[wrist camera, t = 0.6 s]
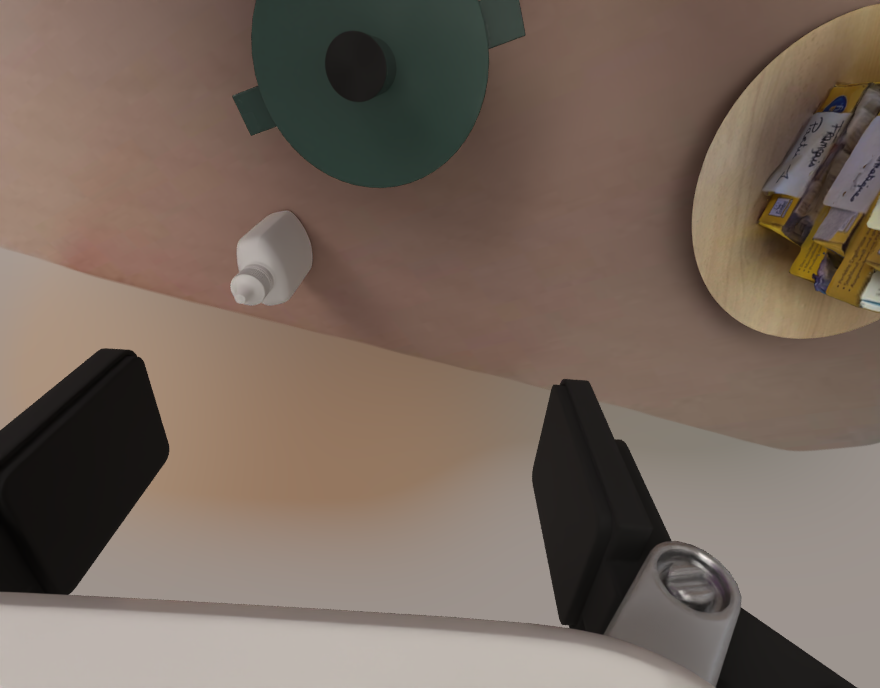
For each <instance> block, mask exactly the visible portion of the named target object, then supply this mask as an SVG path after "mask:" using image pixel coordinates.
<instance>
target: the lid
mask: <svg viewBox="0 0 880 688" xmlns="http://www.w3.org/2000/svg"><path fill="white" fill-rule="evenodd" d="M251 40H252V57H253V64H254V70H255V75H256V79H257V82H258V86H259V90H260V92H261V95H262V98H263V100H264V103H265V105H266V107H267V109H268V111H269V113H270V115H271V117H272V119H273V121H274V123H275V124H276V126H277V127H278V129H279V130H280V132H281V133H282V135H283V136H284V137H285V139H286V140H287V141H288V142H289V143H290V145H291V146H292V147H293V148H294V149H295V150H296V151H297V152H298V153H299V154H300V155H301V156H302V157H303V158H304V159H306V160H307V161H308V162H309V163H311V164H312V165H313V166H315V167H316V168H317V169H319V170H321V171H323V172H324V173H326V174H328V175H329V176H332V177H334V178H336V179H338V180H341V181H343V182H346V183H350V184H353V185H357V186H363V187H370V188H387V187H396V186H400V185H404V184H408V183H411V182H414V181H416V180H419V179H421V178H423V177H425V176H427V175H429V174H430V173H432V172H434V171H435V170H437V169H438V168H439V167H441V166H442V165H443V164H445V163H446V162H447V161H448V160H449V159H450V158H451V157H452V156H453V155H454V154H455V153H456V152H457V150H458V149H459V148H460V147H461V145H462V144H463V143H464V141H465V140H466V138H467V137H468V135H469V133H470V132H471V130H472V128H473V126H474V124H475V122H476V120H477V117H478V115H479V113H480V110H481V107H482V103H483V100H484V97H485V92H486V86H487V81H488V68H489V51H488V39H487V33H486V26H485V22H484V18H483V15H482V11H481V8H480V5H479V2H478V0H256V3H255V8H254V14H253V20H252V34H251Z"/></svg>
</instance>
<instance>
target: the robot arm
mask: <svg viewBox="0 0 880 688" xmlns="http://www.w3.org/2000/svg"><path fill="white" fill-rule="evenodd" d="M168 455H169V444H168V440H167V437H166V434H165V430H164V427H163V424H162V421H161V417H160V414H159V410H158V407H157V404H156V400H155V397H154V394H153V390H152V387H151V384H150V381H149V378H148V374H147V371H146V367H145V364H144V361H143V360H142V359H141V358H140V357H137V355H136V354H135V353H134V352H133V351H131V350H122V349H101V350H99V351H97V352H96V353H95V354H94V355H92V356H91V357H90V358H89V359H87V360H86V361H85V362H84V363H82V364H81V365H80V366H79V367H78V368H77V369H75V370H74V371H73V372H71V373H70V374H69V375H68V376H67V377H65V378H64V379H63V380H62V381H61V382H59V383H58V384H57V385H56V386H54V387H53V388H52V389H51V390H49V391H48V392H47V393H46V394H44V395H43V396H42V397H41V398H40V399H38V400H37V401H36V402H35V403H33V405H31V406H30V407H29V408H28V409H26V410H25V411H24V412H22V413H21V414H20V415H19V416H18V417H16V418H15V419H14V420H13V421H11V422H10V423H9V424H8V425H6V426H5V427H4V428H3V429H2V430H0V688H857V687H855V686H854V685H852V684H851V683H849V682H848V681H847V680H845V679H844V678H842V677H841V676H839V675H838V674H836V673H835V672H834V671H832V670H831V669H829V668H828V667H826V666H825V665H823V664H822V663H821V662H819V661H818V660H816V659H815V658H813V657H812V656H810V655H809V654H808V653H806V652H805V651H803V650H802V649H800V648H799V647H797V646H796V645H795V644H793V643H792V642H790V641H789V640H787V639H786V638H784V637H783V636H782V635H780V634H779V633H777V632H776V631H774V630H773V629H771V628H770V627H769V626H767V625H766V624H764V623H763V622H761V621H760V620H758V619H757V618H755V617H754V616H753V615H751V614H750V613H748V612H747V611H745V610H744V609H742V608H741V594H740V591H739V588H738V585H737V583H736V581H735V580H734V578H733V577H732V575H731V574H730V572H729V571H728V570H727V569H726V568H725V567H724V566H723V565H722V564H721V563H720V562H719V561H718V560H717V559H716V558H714V557H713V556H711V555H710V554H709V553H707V552H706V551H704V550H702V549H700V548H697V547H695V546H693V545H691V544H687V543H683V542H679V541H671V539H670V537H669V534H668V532H667V530H666V528H665V526H664V524H663V522H662V519H661V517H660V515H659V513H658V511H657V509H656V507H655V504H654V502H653V500H652V498H651V496H650V494H649V491H648V489H647V487H646V485H645V483H644V481H643V479H642V477H641V474H640V472H639V470H638V468H637V466H636V464H635V461H634V459H633V457H632V455H631V453H630V450H629V449H628V447H627V445H626V443H625V442H624V441H622V440H615V439H614V437H613V435H612V433H611V430H610V428H609V426H608V423H607V421H606V419H605V417H604V414H603V412H602V410H601V407H600V405H599V403H598V401H597V398H596V396H595V394H594V391H593V389H592V387H591V385H590V383H589V381H585V380H570V379H563V380H562V381H561V383H560V385H553V387H552V389H551V393H550V398H549V402H548V407H547V411H546V415H545V419H544V424H543V428H542V433H541V436H540V441H539V445H538V449H537V453H536V458H535V462H534V466H533V472H532V482H533V488H534V493H535V498H536V503H537V508H538V513H539V519H540V524H541V529H542V534H543V539H544V543H545V549H546V554H547V559H548V564H549V569H550V575H551V580H552V585H553V590H554V594H555V600H556V605H557V610H558V615H559V619H560V622H561V624H562V625H569V628H562V627H555V626H548V625H539V624H531V623H519V622H506V621H494V620H481V619H469V618H457V617H442V616H426V615H411V614H395V613H379V612H363V611H347V610H331V609H330V610H329V609H314V608H296V607H279V606H262V605H245V604H228V603H208V602H192V601H174V600H156V599H137V598H136V599H135V598H118V597H98V596H79V595H69V594H70V593H71V592H72V591H73V590H74V589H75V588H76V586H77V585H78V583H79V582H80V581H81V579H82V578H83V576H84V575H85V574H86V572H87V571H88V569H89V568H90V567H91V565H92V564H93V563H94V561H95V560H96V558H97V557H98V555H99V554H100V553H101V551H102V550H103V549H104V547H105V546H106V544H107V543H108V542H109V540H110V539H111V537H112V536H113V535H114V533H115V532H116V530H117V529H118V527H119V526H120V525H121V523H122V522H123V521H124V519H125V518H126V516H127V515H128V514H129V512H130V511H131V509H132V508H133V507H134V505H135V504H136V502H137V501H138V500H139V498H140V497H141V495H142V494H143V493H144V491H145V490H146V488H147V487H148V486H149V484H150V483H151V481H152V480H153V479H154V477H155V476H156V474H157V473H158V472H159V470H160V469H161V467H162V466H163V465H164V463H165V462H166V460H167V458H168Z"/></svg>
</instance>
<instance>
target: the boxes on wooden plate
mask: <svg viewBox="0 0 880 688" xmlns="http://www.w3.org/2000/svg"><path fill="white" fill-rule="evenodd" d="M692 239H693V248H694V253H695V258H696V262H697V265H698V268H699V271H700V274H701V276H702V278H703V281H704V283H705V285H706V287H707V288H708V290H709V292H710V293H711V295H712V296H713V298H714V299H715V300H716V301H717V303H718V304H719V305H720V306H721V307H722V308H723V309H724V310H725V311H726V312H727V313H728V314H730V315H731V316H732V317H733V318H735V319H736V320H738V321H739V322H741V323H742V324H744V325H746V326H748V327H750V328H752V329H754V330H757V331H759V332H762V333H765V334H769V335H773V336H778V337H784V338H795V339H807V338H819V337H826V336H832V335H836V334H841V333H844V332H848V331H851V330H854V329H857V328H860V327H863V326H865V325H868V324H870V323H872V322H875V321H877V320H879V319H880V4H875V5H871V6H868V7H864V8H861V9H858V10H855V11H852V12H849V13H847V14H844V15H842V16H840V17H838V18H835V19H833V20H831V21H829V22H827V23H825V24H823V25H822V26H820V27H818V28H816V29H815V30H813V31H811V32H810V33H808V34H807V35H805V36H804V37H802V38H801V39H799V40H798V41H796V42H795V43H794V44H792V45H791V46H790V47H788V48H787V49H786V50H785V51H783V52H782V53H781V54H780V55H779V56H777V57H776V58H775V59H774V60H773V61H772V62H771V63H769V64H768V65H767V66H766V67H765V68H764V69H763V70H762V72H761V73H760V74H759V75H758V76H757V77H756V78H755V79H754V80H753V81H752V82H751V84H750V85H749V86H748V87H747V88H746V89H745V91H744V92H743V93H742V94H741V96H740V97H739V98H738V100H737V101H736V102H735V104H734V105H733V107H732V108H731V110H730V111H729V113H728V114H727V116H726V117H725V119H724V121H723V123H722V124H721V126H720V128H719V129H718V131H717V133H716V135H715V137H714V139H713V141H712V144H711V145H710V148H709V150H708V152H707V154H706V157H705V160H704V163H703V166H702V169H701V172H700V175H699V178H698V182H697V186H696V191H695V196H694V202H693V211H692Z"/></svg>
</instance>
